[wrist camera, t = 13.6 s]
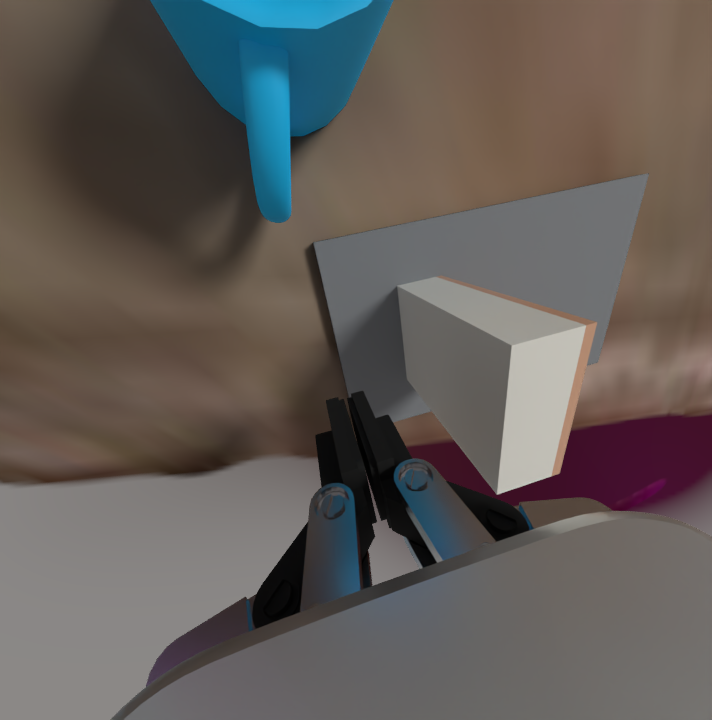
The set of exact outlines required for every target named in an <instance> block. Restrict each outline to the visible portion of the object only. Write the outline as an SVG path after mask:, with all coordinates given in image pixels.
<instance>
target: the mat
mask: <svg viewBox="0 0 712 720" xmlns="http://www.w3.org/2000/svg"><path fill="white" fill-rule="evenodd" d="M648 175H649V173H648V174H642V175H636V176H632V177H627V178H622V179H617V180H612V181H607V182H603V183H598V184H593V185H588V186H583V187H578V188H574V189H569V190H564V191H559V192H554V193H549V194H545V195H540V196H535V197H530V198H525V199H520V200H516V201H511V202H506V203H501V204H496V205H492V206H487V207H482V208H477V209H472V210H467V211H463V212H458V213H453V214H448V215H443V216H438V217H434V218H429V219H424V220H419V221H414V222H409V223H405V224H400V225H395V226H390V227H385V228H380V229H376V230H371V231H366V232H361V233H356V234H351V235H347V236H342V237H337V238H332V239H327V240H322V241H318V242H313V245H314V249H315V253H316V258H317V262H318V266H319V271H320V275H321V279H322V284H323V288H324V292H325V297H326V301H327V305H328V310H329V314H330V318H331V323H332V327H333V331H334V336H335V340H336V344H337V349H338V353H339V357H340V362H341V366H342V370H343V375H344V379H345V383H346V388H347V392H348V396H349V397H351V394H352V393H355V392H359V391H364V394H365V396H366V398H367V400H368V402H369V405H370V407H371V409H372V411H373V413H374V416H375V418H377V417H381V416H384V415H389V416H390V418H391V420H392V422H396V421H399V420H403V419H406V418H410V417H413V416H416V415H420V414H423V413H427V412H430V411H431V410H430V408H429V407H428V406H427V404H426V403H425V402H424V401H423V399H422V398H421V397H420V395H419V394H418V393H417V392H416V390H415V389H414V388H413V386H412V385H411V384H410V383H409V381H408V380H407V375H406V365H405V356H404V346H403V337H402V327H401V317H400V308H399V298H398V289H397V286H399V285H403V284H407V283H411V282H416V281H420V280H424V279H429V278H433V277H437V276H441V275H442V276H445V277H448V278H452V279H455V280H458V281H462V282H465V283H468V284H472V285H475V286H478V287H482V288H485V289H488V290H492V291H495V292H498V293H502V294H505V295H508V296H512V297H515V298H518V299H522V300H525V301H528V302H532V303H535V304H538V305H542V306H545V307H548V308H552V309H555V310H558V311H562V312H565V313H568V314H572V315H575V316H578V317H582V318H585V319H588V320H592V321H595V322H597V326H596V330H595V334H594V338H593V342H592V346H591V350H590V354H589V358H588V362H587V365H591V364H594V363H597V362H598V360H599V356H600V353H601V349H602V345H603V341H604V338H605V334H606V330H607V327H608V323H609V319H610V316H611V312H612V308H613V305H614V301H615V297H616V293H617V290H618V286H619V282H620V279H621V275H622V271H623V268H624V264H625V260H626V257H627V253H628V249H629V245H630V242H631V238H632V234H633V231H634V227H635V223H636V220H637V216H638V212H639V209H640V205H641V201H642V197H643V194H644V190H645V186H646V183H647V179H648Z"/></svg>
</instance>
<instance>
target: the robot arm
mask: <svg viewBox="0 0 712 720" xmlns="http://www.w3.org/2000/svg"><path fill="white" fill-rule="evenodd" d="M347 400H348V404H349V409H350V413H351V418H352V422H353V426H354V431H355V435H356V438H355V435H354V431H353V428H352V425H351V422H350V419H349V415H348V412H347V409H346V406H345V403H344V399H342V400H338V397H337V398H333V399H329V400H326V404H327V409H328V414H329V418H330V423H331V428H332V431H328V432H324V433H321V434H317V435H316V445H317V453H318V462H319V470H320V478H321V486H322V488H320V489H319V490H318V491H317V492H316V493H315V494H314V496H313V498H312V499H311V503H310V508H309V518H308V519H309V520H308V522H307V524H306V525H305V527H304V528H303V529H302V531H301V532H300V533H299V535H298V536H297V537H296V539H295V540H294V541H293V543H292V544H291V546H290V547H289V548H288V550H287V551H286V552H285V554H284V555H283V556H282V558H281V559H280V561H279V562H278V563H277V565H276V566H275V567H274V569H273V570H272V572H271V573H270V574H269V576H268V577H267V578H266V580H265V581H264V582H263V584H262V585H261V587H260V589H259V590H258V592H257V594H256V595H254V596H253V597H251V598H249V599H247V598H246V597H244V598H243V599H241V600H239V601H238V602H236V603H234V604H233V605H231V606H229V607H228V608H226V609H225V610H223V611H221V612H220V613H218V614H216V615H215V616H213V617H212V618H210V619H208V620H207V621H205V622H204V623H202V624H200V625H199V626H197V627H195V628H194V629H192V630H190V631H189V632H187V633H186V634H184V635H182V636H181V637H179V638H178V639H176V640H175V641H174V642H172V643H171V644H170V645H169V646H167V648H166V649H165V650H164V651H163V652H162V654H161V655H160V656H159V657H158V659H157V660H156V662H155V664H154V666H153V668H152V670H151V672H150V674H149V677H148V681H147V684H146V688H144V689H143V690H142V691H141V692H140V693H139V694H137V695H136V696H135V697H134V698H133V699H132V700H130V701H129V702H128V703H127V704H126V705H125V706H124V707H123V708H122V709H121V710H120V711H119V712H118V713H117V714H116V715H115V716H114V717H113V718H112V719H111V720H712V536H710V535H708V534H706V533H704V532H702V531H700V530H699V529H697V528H695V527H693V526H691V525H688V524H686V523H684V522H681V521H678V520H675V519H672V518H669V517H665V516H660V515H655V514H649V513H641V512H631V511H611V510H610V509H609V508H608V507H606V506H605V505H603V504H601V503H600V502H597V501H595V500H592V499H589V498H568V499H555V500H543V501H531V502H520V504H519V506H512V505H510V504H508V503H505V502H503V501H501V500H498V499H495V498H492V497H489V496H487V495H484V494H481V493H479V492H476V491H473V490H470V489H467V488H465V487H461V486H459V485H456V484H454V483H451V482H448V481H445V480H444V478H443V477H442V476H441V475H440V474H439V472H438V471H437V470H436V469H435V468H434V467H433V466H432V465H431V464H430V463H428V462H426V461H424V460H421V459H412V457H411V455H410V454H409V452H408V450H407V448H406V446H405V444H404V442H403V440H402V439H401V437H400V435H399V433H398V431H397V429H396V427H395V425H394V424H393V422H392V420H391V418H390V416H389V415H384V416H381V417H377V418H375V416H374V413H373V411H372V409H371V407H370V405H369V402H368V400H367V398H366V396H365V394H364V391H359V392H355V393H352V394H351V397H349V398H347ZM356 439H357V441H356ZM365 470H366V471H365ZM366 473H367V476H368V480H369V483H370V486H371V489H372V493H373V495H374V499H375V502H376V505H377V509H378V512H379V515H380V518H381V521H382V520H385V519H387V522H388V525H389V528H392V530H393V531H395V532H396V533H398V534H400V535H402V536H403V538H404V540H405V543H406V545H407V546H408V548H409V550H410V552H411V554H412V556H413V558H414V560H415V562H416V563H417V565H418V567H419V570H416V571H414V572H410V573H408V574H405V575H402V576H399V577H396V578H394V579H391V580H388V581H385V582H382V583H380V584H377V585H374V586H372V577H371V567H370V557H369V552H368V549H369V547H370V545H371V543H372V541H373V539H374V537H375V534H374V530H373V526H372V524H373V523H376V522H377V520H376V516H375V511H374V507H373V503H372V498H371V493H370V489H369V485H368V480H367V476H366Z"/></svg>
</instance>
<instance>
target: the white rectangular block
mask: <svg viewBox="0 0 712 720" xmlns="http://www.w3.org/2000/svg"><path fill="white" fill-rule="evenodd" d="M397 289H398V298H399V308H400V317H401V327H402V337H403V346H404V356H405V365H406V375H407V380H408V381H409V383H410V384H411V385H412V386H413V388H414V389H415V390H416V392H417V393H418V394H419V395H420V397H421V398H422V399H423V401H424V402H425V403H426V404H427V406H428V407H429V408H430V410H431V411H432V412H433V413H434V415H435V416H436V417H437V418H438V420H439V421H440V422H441V424H442V425H443V426H444V427H445V429H446V430H447V431H448V433H449V434H450V435H451V436H452V438H453V439H454V440H455V442H456V443H457V444H458V445H459V447H460V448H461V449H462V451H463V452H464V453H465V454H466V456H467V457H468V458H469V459H470V461H471V462H472V463H473V465H474V466H475V467H476V468H477V470H478V471H479V472H480V474H481V475H482V476H483V477H484V479H485V480H486V481H487V482H488V484H489V485H490V486H491V488H492V489H493V490H494V491H495V493H496V494H500V493H503V492H506V491H509V490H512V489H515V488H518V487H521V486H524V485H527V484H530V483H533V482H536V481H538V480H542V479H544V478H547V477H550V476H553V475H556V474H559V473H560V469H561V465H562V461H563V457H564V453H565V449H566V445H567V441H568V437H569V434H570V430H571V426H572V422H573V418H574V414H575V410H576V406H577V402H578V398H579V394H580V390H581V386H582V382H583V378H584V374H585V370H586V366H587V362H588V358H589V354H590V350H591V346H592V342H593V338H594V334H595V330H596V326H597V322H595V321H592V320H588V319H585V318H582V317H578V316H575V315H572V314H568V313H565V312H562V311H558V310H555V309H552V308H548V307H545V306H542V305H538V304H535V303H532V302H528V301H525V300H522V299H518V298H515V297H512V296H508V295H505V294H502V293H498V292H495V291H492V290H488V289H485V288H482V287H478V286H475V285H472V284H468V283H465V282H462V281H458V280H455V279H452V278H448V277H445V276H442V275H441V276H437V277H433V278H429V279H424V280H420V281H416V282H411V283H407V284H403V285H399V286H397Z"/></svg>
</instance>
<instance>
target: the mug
mask: <svg viewBox="0 0 712 720" xmlns="http://www.w3.org/2000/svg"><path fill="white" fill-rule="evenodd" d="M150 1H151V3H152V5H153V6H154V8H155V9H156V11H157V13H158V14H159V16H160V18H161V19H162V21H163V22H164V24H165V26H166V27H167V29H168V31H169V32H170V34H171V36H172V37H173V39H174V40H175V42H176V44H177V45H178V47H179V49H180V50H181V52H182V54H183V55H184V57H185V58H186V60H187V62H188V63H189V65H190V67H191V68H192V70H193V71H194V73H195V75H196V76H197V77H198V79H199V80H200V81H201V82H202V84H203V85H204V86H205V87H206V88H207V90H208V91H209V92H210V93H211V95H212V96H213V97H214V98H215V100H216V101H217V102H218V103H219V104H220V106H221V107H222V108H224V109H225V110H227V111H228V112H229V113H231V114H232V115H233V116H235V117H236V118H237V119H239V120H240V121H241V122H243V123H244V124H245V125H246V128H247V138H248V145H249V153H250V160H251V168H252V176H253V182H254V187H255V192H256V198H257V203H258V206H259V209H260V211H261V213H262V215H263V216H264V217H265V218H266V219H267V220H269V221H271V222H275V223H281V222H284V221H286V220H288V219H289V217H290V216H291V158H290V137H291V136H305V135H307V134H309V133H311V132H313V131H316V130H318V129H320V128H322V127H324V126H326V125H327V124H328V123H329V122H330V121H331V120H332V119H333V118H334V117H335V116H336V115H337V114H338V113H339V112H340V111H341V110H342V109H343V108H344V107H345V106H346V104H347V101H348V99H349V97H350V95H351V93H352V91H353V89H354V87H355V84H356V82H357V80H358V78H359V76H360V74H361V72H362V69H363V67H364V65H365V63H366V60H367V58H368V56H369V54H370V51H371V49H372V47H373V45H374V42H375V40H376V38H377V36H378V33H379V31H380V29H381V27H382V25H383V22H384V20H385V18H386V16H387V13H388V11H389V9H390V7H391V4H392V2H393V0H150Z"/></svg>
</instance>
